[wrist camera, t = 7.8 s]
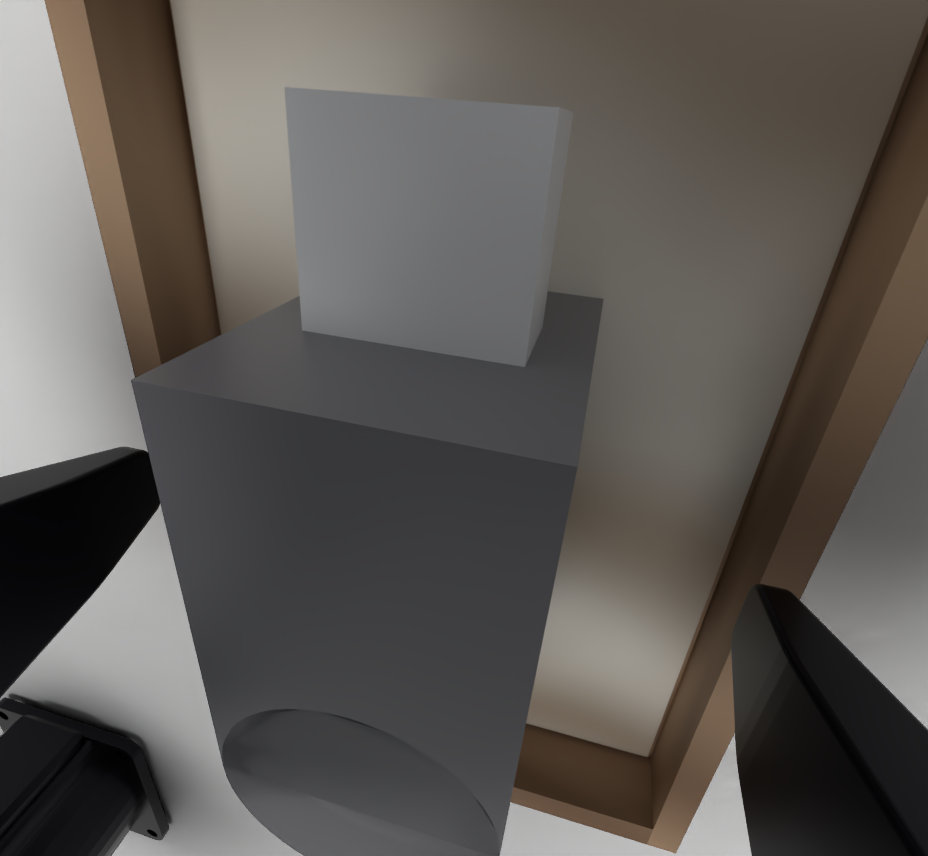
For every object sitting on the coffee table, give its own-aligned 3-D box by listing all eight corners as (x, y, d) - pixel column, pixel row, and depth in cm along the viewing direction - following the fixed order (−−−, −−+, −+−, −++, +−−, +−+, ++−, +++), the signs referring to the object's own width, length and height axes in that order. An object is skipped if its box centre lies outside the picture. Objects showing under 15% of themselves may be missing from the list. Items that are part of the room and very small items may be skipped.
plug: (534, 653, 12) (485, 927, 8) (366, 609, 13) (240, 838, 9) (638, 120, 7) (649, 106, 3) (356, 99, 8) (55, 62, 4)
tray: (668, 747, 14) (675, 853, 12) (267, 636, 16) (215, 710, 14) (1021, -126, 6) (1216, -253, 4) (152, -117, 8) (-3, -196, 6)
